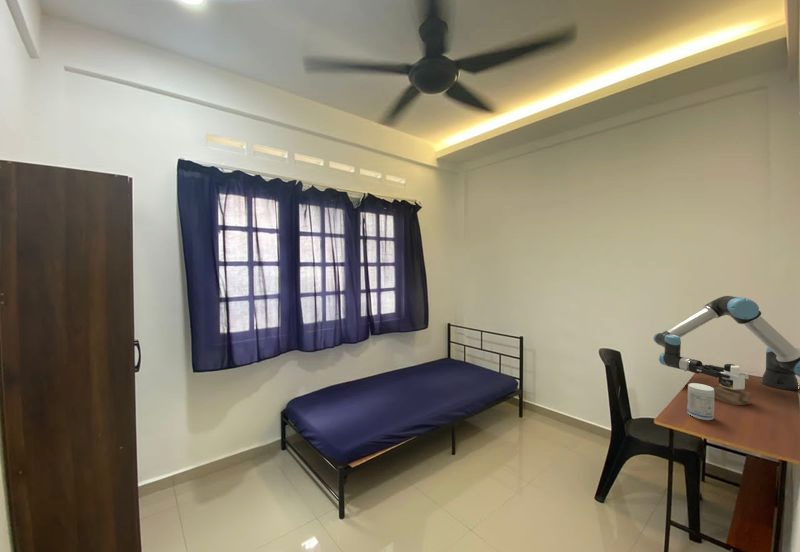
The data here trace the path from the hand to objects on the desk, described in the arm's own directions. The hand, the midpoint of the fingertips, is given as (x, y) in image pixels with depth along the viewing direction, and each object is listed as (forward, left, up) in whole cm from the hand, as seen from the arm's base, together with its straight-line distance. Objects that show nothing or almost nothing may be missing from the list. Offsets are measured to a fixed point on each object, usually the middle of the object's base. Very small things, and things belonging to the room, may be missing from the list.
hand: (743, 377), depth 170 cm
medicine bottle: (+2, -4, -7) cm, 8 cm away
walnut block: (+2, -4, -14) cm, 15 cm away
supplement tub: (+34, +15, -14) cm, 39 cm away
